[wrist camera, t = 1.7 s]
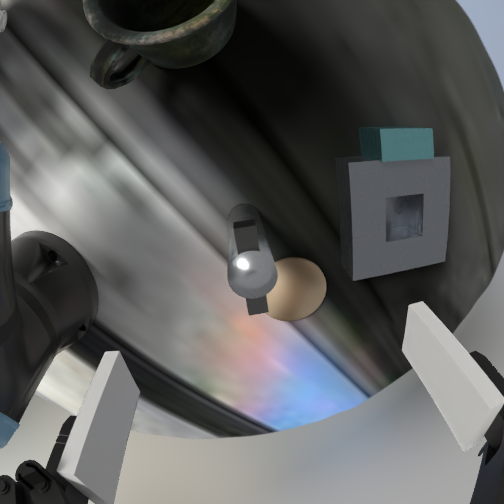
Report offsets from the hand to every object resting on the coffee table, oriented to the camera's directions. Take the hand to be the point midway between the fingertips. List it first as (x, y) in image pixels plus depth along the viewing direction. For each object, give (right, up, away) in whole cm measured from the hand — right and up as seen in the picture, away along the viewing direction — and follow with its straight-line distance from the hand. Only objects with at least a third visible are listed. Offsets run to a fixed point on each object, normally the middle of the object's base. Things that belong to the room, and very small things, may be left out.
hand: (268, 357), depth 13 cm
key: (-2, +8, +19) cm, 21 cm away
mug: (-8, +26, +12) cm, 29 cm away
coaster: (+4, 0, +23) cm, 23 cm away
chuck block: (+14, +11, +19) cm, 26 cm away
